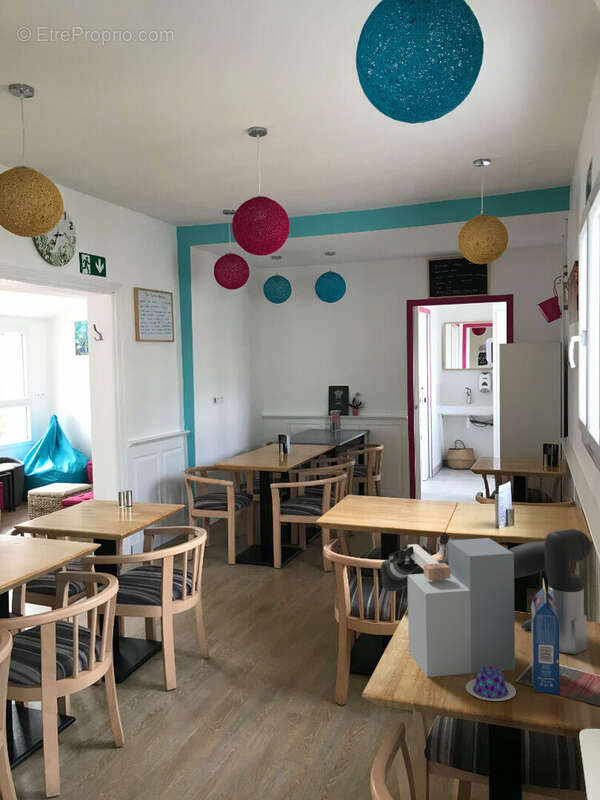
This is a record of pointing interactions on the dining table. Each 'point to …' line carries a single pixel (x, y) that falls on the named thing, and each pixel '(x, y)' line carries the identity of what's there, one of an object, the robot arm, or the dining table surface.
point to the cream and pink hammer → (429, 564)
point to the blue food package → (545, 643)
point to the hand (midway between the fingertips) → (418, 549)
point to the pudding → (490, 685)
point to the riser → (464, 611)
